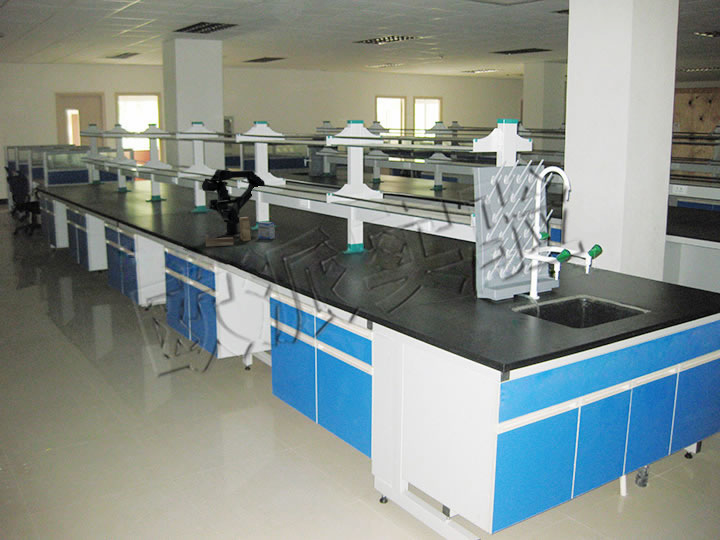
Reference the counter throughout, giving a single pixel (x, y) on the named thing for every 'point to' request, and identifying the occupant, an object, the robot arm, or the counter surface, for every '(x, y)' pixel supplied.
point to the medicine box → (266, 230)
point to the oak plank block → (245, 228)
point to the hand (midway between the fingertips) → (230, 215)
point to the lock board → (218, 241)
